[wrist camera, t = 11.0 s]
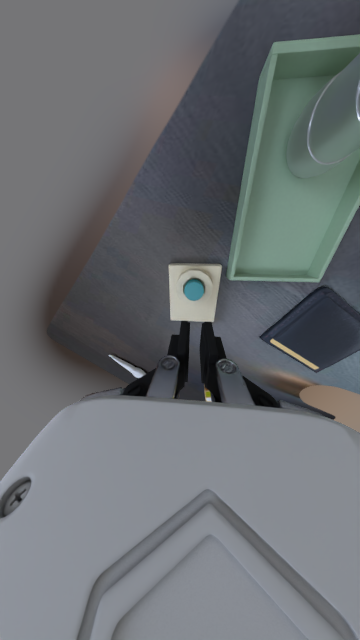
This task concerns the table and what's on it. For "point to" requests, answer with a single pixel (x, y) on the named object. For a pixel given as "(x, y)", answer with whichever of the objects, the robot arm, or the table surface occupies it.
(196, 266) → the control block
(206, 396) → the rubik's cube
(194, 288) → the button
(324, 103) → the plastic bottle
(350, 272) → the table surface
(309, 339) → the wallet
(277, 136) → the tray
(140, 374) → the white tapered spike
